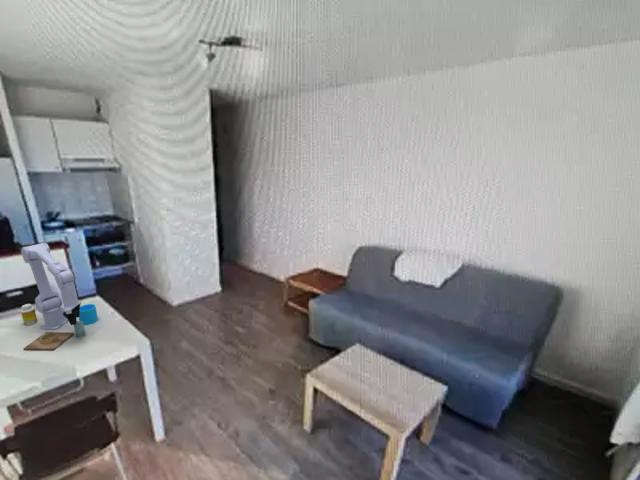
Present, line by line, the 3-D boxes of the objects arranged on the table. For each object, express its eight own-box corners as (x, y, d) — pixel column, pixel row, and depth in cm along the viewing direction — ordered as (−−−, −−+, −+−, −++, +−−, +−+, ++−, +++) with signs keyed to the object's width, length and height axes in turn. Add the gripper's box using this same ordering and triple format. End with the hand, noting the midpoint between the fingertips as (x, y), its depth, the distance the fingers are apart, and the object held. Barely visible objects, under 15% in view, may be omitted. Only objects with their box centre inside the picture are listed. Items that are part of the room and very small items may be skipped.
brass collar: (47, 336, 173) (47, 332, 173) (61, 336, 173) (60, 332, 172) (37, 344, 167) (36, 340, 166) (51, 344, 167) (50, 340, 166)
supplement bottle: (37, 323, 186) (33, 305, 183) (24, 326, 183) (19, 309, 180) (37, 319, 190) (33, 301, 187) (24, 322, 187) (19, 305, 184)
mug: (99, 321, 189) (97, 307, 186) (81, 327, 183) (78, 313, 181) (94, 313, 197) (91, 300, 195) (77, 318, 192) (74, 304, 189)
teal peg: (79, 333, 178) (76, 320, 176) (87, 333, 178) (84, 321, 176) (74, 337, 174) (71, 325, 172) (82, 337, 174) (79, 325, 172)
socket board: (46, 333, 177) (46, 331, 177) (74, 334, 177) (73, 332, 176) (23, 350, 164) (23, 348, 163) (53, 350, 163) (53, 349, 163)
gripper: (76, 299, 162) (82, 325, 166) (81, 287, 175) (87, 312, 179) (57, 302, 159) (64, 329, 163) (64, 290, 172) (70, 315, 176)
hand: (75, 320), depth 171 cm, fingers open, 7 cm apart
